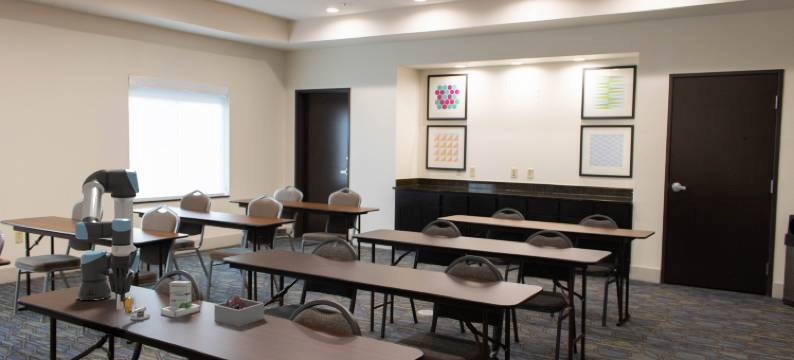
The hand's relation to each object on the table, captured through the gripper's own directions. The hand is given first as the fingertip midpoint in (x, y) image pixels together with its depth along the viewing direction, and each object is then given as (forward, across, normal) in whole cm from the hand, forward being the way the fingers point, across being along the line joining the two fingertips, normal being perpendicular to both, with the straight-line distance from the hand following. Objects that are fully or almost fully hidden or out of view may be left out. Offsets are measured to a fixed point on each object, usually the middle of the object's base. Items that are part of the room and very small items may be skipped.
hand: (120, 308), depth 266 cm
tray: (+6, +17, +21) cm, 27 cm away
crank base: (+6, +4, +9) cm, 11 cm away
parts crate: (+5, +47, +17) cm, 51 cm away
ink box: (+3, +17, +21) cm, 27 cm away
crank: (+3, +4, +5) cm, 7 cm away
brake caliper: (+5, +45, +17) cm, 49 cm away
